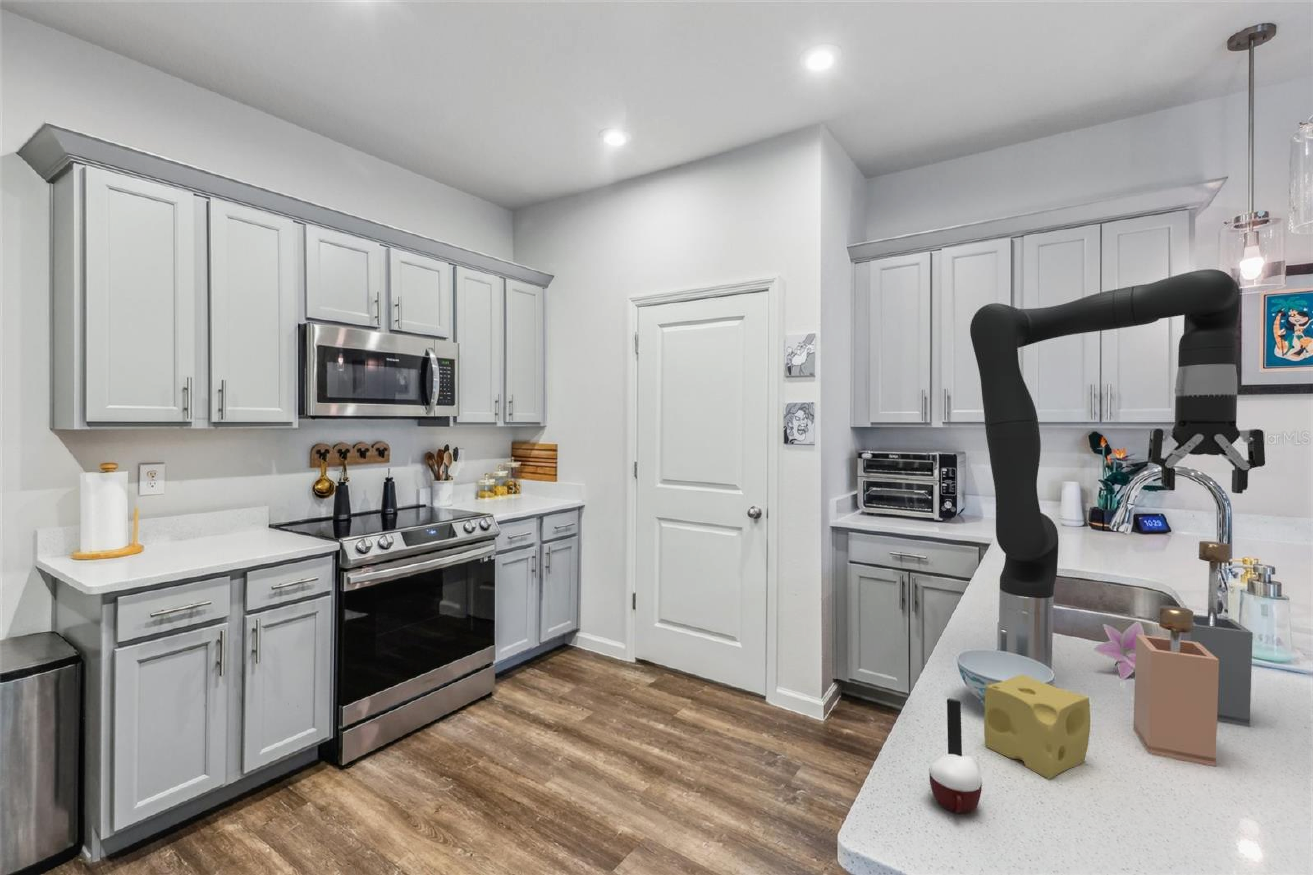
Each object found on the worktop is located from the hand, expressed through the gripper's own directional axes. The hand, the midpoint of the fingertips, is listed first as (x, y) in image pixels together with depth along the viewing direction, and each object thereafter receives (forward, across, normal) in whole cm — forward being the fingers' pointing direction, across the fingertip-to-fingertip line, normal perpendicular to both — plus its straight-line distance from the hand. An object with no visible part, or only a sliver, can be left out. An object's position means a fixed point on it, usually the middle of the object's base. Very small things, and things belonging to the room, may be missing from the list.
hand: (1203, 491), depth 99 cm
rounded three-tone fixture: (+40, -36, -41) cm, 67 cm away
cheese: (+40, -25, -21) cm, 52 cm away
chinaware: (+40, -29, -6) cm, 50 cm away
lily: (+40, -5, +23) cm, 46 cm away
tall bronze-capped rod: (+26, +4, +9) cm, 28 cm away
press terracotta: (+40, -6, -9) cm, 41 cm away
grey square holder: (+40, +4, +9) cm, 41 cm away
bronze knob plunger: (+34, -6, -9) cm, 36 cm away
